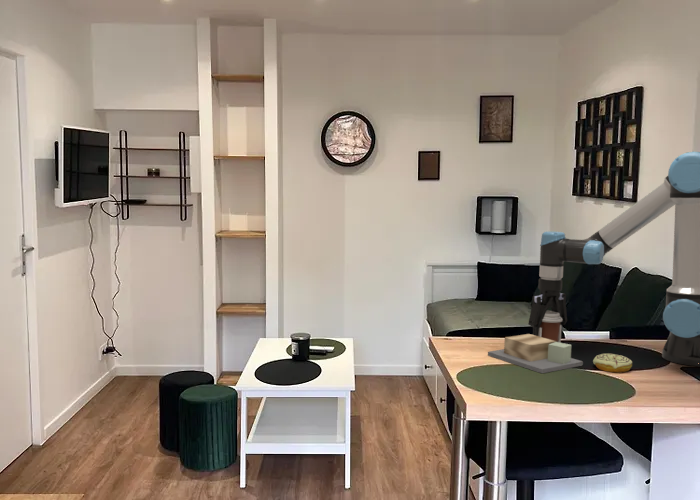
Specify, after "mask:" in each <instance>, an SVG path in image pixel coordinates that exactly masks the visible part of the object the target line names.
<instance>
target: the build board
mask: <svg viewBox="0 0 700 500" xmlns="http://www.w3.org/2000/svg"><path fill="white" fill-rule="evenodd" d="M487 356H488V357H491V358H495V359H497V360H500V361H503V362H506V363H510V364H512V365H515V366H519V367H521V368H525V369H527V370H530V371H534V372H537V373H540V374H546V373H550V372H556V371H561V370H566V369H571V368H576V367H582V366H583V365H584V362H583V361H582V360H579V359H575V358H572V357H571V361H569V362H567V363H565V364H561V363H556V362H551V361H548V358H547V359H542V360H536V361H528V360H524V359H521V358H518V357H515V356H512V355H509V354H506V353H504V348H503V349H497V350H489V351H487Z"/></svg>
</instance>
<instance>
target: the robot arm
mask: <svg viewBox="0 0 700 500" xmlns="http://www.w3.org/2000/svg"><path fill="white" fill-rule="evenodd" d="M673 207H674V224H673V225H674V228H673V229H674V230H673V255H672V256H673V257H672V279H671V281H672V282H671V285H670V286H669V287H668V288H666V295H665V297H666V298H665V307H664V309H663V313H662V319H663V323H664V325H665V327H666V329H667V330H668V331H669V335H668V337H667V339H666V341H665V344H664V346H663V348H662V353H661V357H662V358H663V359H664V360H666V361H668V362H672V363H675V364H680V365H685V366H695V367H700V151H689V152H685V153H682V154H680V155H678V157H676V158H675V159H673V161H672V162H671V164H670V166H669V168H668V173H667V176H665V177H664V180H663V183H661V184H660V185H659V186H657V187H656V188H655V189H653V190H652V191H651V192H649V193H648V194H647V195H645V196H644V197H643V198H641V199H639V200H638V201H637V202H636V203H635V204H633V205H632V206H630V207H629V208H628V209H626V210H625V211H624V212H622V213H621V214H619V215H618V216H617V217H616V218H614V219H612V220H611V221H610V222H608V223H607V224H606V225H604V226H603V227H602V228H600V229H599V230H597V231H596V232H595V233H593V234H592V235H591V236H590V237H588V238H584V239H576V238H575V239H570V238H567V237H566V234H565V232H562V231H549V230H548V231H544V232H543V233H541V241H540V245H539V246H540V251H539V252H540V253H539V272H538V273H539V274H538V275H539V277H540V278H539V279H538V286H537V288H538V290H539V295H533V296H532V305H531V310H530V315H529V319H528V326H530V327H532V335H535V336H539V337H541V335H542V328H540V326H541V323H542V319H543V318H544V315H545V313H546V311H548V310H549V308H551V311H554V312H558V313H559V314H560V317H561V318H562V319H563V321H562V322H560V328H559V335H558V342H559V343H562V342H561V341H562V340H561V339H562V332H563V326H565V325H566V323H567V322H568V314H567V313H568V312H567V302H566V301H567V294H566V293H561V291H562V290H563V279H562V278H563V277H564V262H566V263H578V264H585V265H586V264H587V265H600V264H601V263H602V262H603V260H604V257H605V256H606V254H608V253H609V252H611V251H612V250H613V249H615V248H616V247H617V246H619V245H620V244H622V243H623V242H624V241H626V240H627V239H629V238H630V237H631V236H633V235H634V234H636V233H637V232H638V231H640V230H641V229H642V228H644V227H645V226H647V225H648V224H649V223H651V222H653V221H654V220H655V219H657V218H659V216H661V215H662V214H664V213H666V212H667V211H668V210H670V209H671V208H673ZM698 363H699V364H698Z"/></svg>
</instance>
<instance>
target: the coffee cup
mask: <svg viewBox="0 0 700 500" xmlns="http://www.w3.org/2000/svg"><path fill="white" fill-rule="evenodd" d="M562 321H563V319H562V318H561V317H560V314H559V313H558V312H554V311H552V310H546V313H545V315H544V318H543V319H542V323H541V326H540V328H542V335H541V337H543V338H546V339H550V340H554V341H556V342H558V335H559V328H560V322H562Z"/></svg>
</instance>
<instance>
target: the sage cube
mask: <svg viewBox="0 0 700 500" xmlns="http://www.w3.org/2000/svg"><path fill="white" fill-rule="evenodd" d="M571 358H572V344H570V343H569V344H568V343H563V342H561V343H559V342H554V343H551V344H549V345H548V361H551V362H556V363H561V364H565V363H567V362H569V361H571Z"/></svg>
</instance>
